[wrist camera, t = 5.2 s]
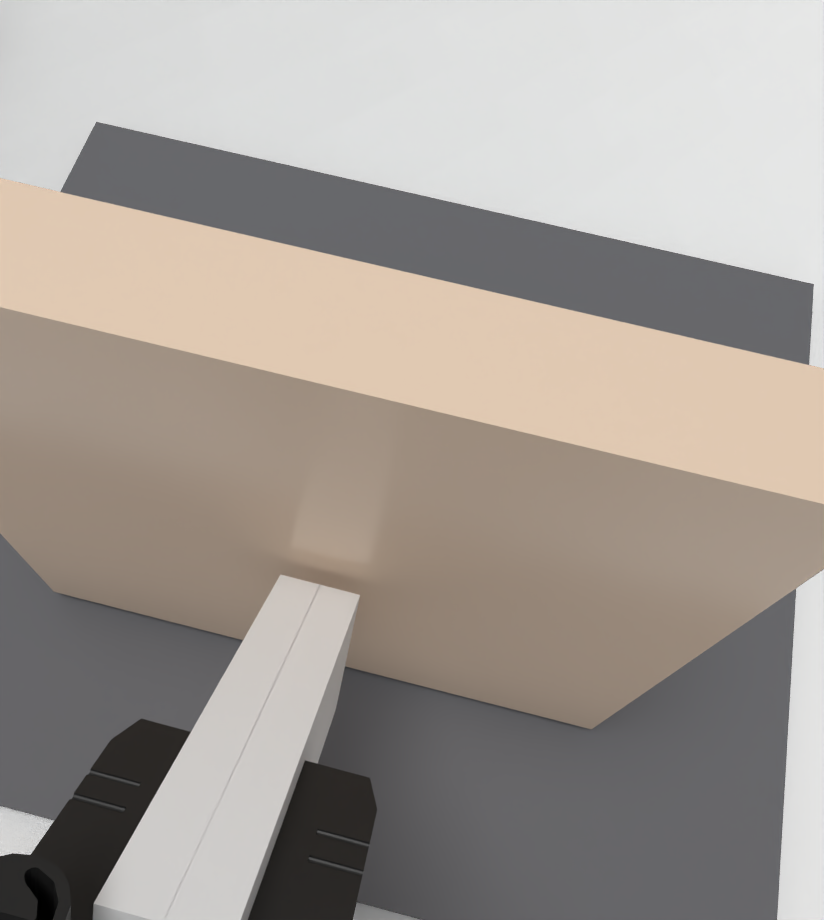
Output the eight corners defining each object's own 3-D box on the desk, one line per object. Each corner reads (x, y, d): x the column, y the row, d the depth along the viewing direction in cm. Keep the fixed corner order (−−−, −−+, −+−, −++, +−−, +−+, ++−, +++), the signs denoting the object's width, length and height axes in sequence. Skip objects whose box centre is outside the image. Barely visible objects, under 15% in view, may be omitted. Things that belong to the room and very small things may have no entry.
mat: (-213, 745, 19) (-225, 744, 18) (100, 130, 26) (96, 121, 26) (763, 1008, 18) (771, 1013, 17) (806, 291, 25) (813, 284, 24)
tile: (54, 591, 20) (-269, 242, 9) (92, 513, 21) (-154, 126, 10) (591, 729, 19) (893, 520, 9) (600, 640, 20) (877, 362, 10)
